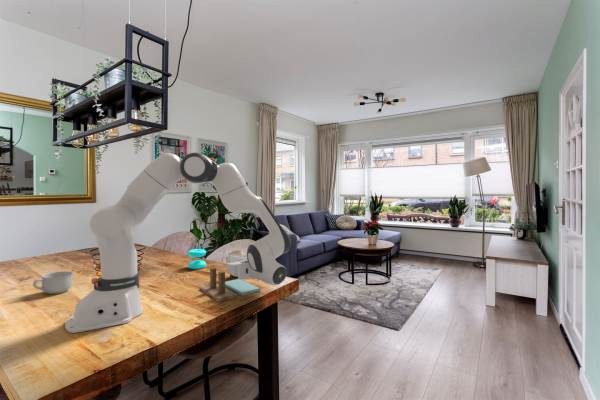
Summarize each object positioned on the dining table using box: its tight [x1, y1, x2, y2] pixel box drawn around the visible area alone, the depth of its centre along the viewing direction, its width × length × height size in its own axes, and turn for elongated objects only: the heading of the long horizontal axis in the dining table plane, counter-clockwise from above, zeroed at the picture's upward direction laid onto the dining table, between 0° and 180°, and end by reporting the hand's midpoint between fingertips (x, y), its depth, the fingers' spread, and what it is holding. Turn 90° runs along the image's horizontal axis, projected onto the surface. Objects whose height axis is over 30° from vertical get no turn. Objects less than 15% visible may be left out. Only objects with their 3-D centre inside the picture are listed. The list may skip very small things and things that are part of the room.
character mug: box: [225, 249, 246, 278], centre depth 152 cm, size 11×7×13 cm, turn 130°
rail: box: [230, 254, 247, 263], centre depth 134 cm, size 3×16×4 cm, turn 40°
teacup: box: [32, 270, 74, 295], centre depth 128 cm, size 14×11×8 cm
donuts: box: [187, 248, 207, 270], centre depth 171 cm, size 10×10×10 cm
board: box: [225, 278, 261, 296], centre depth 134 cm, size 9×19×1 cm, turn 40°
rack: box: [199, 266, 238, 303], centre depth 127 cm, size 8×20×10 cm, turn 40°
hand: (241, 262), depth 133 cm, fingers closed on rail, 3 cm apart
